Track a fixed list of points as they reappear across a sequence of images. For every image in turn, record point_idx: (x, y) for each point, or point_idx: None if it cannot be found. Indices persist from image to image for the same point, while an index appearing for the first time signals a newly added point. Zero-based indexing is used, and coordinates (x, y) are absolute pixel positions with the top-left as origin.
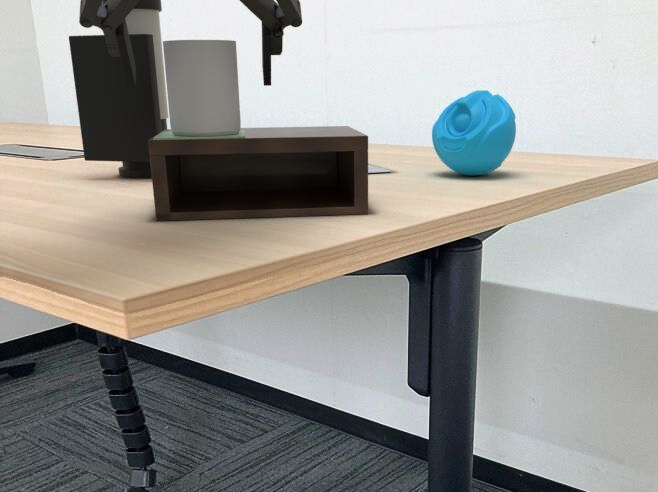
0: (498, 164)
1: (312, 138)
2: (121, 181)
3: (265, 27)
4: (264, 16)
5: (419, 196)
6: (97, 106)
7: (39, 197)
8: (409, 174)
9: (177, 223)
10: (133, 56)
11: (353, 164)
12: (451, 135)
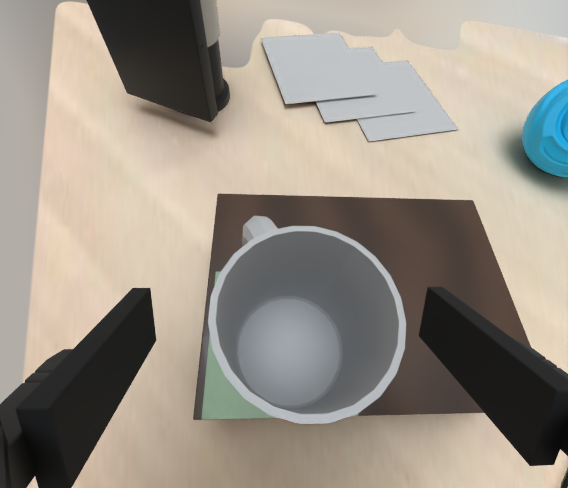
0: None
1: (466, 412)
2: (172, 126)
3: (548, 441)
4: None
5: (512, 285)
6: (124, 36)
7: (77, 210)
8: (476, 142)
9: (240, 436)
10: (137, 304)
11: None
12: (563, 138)
